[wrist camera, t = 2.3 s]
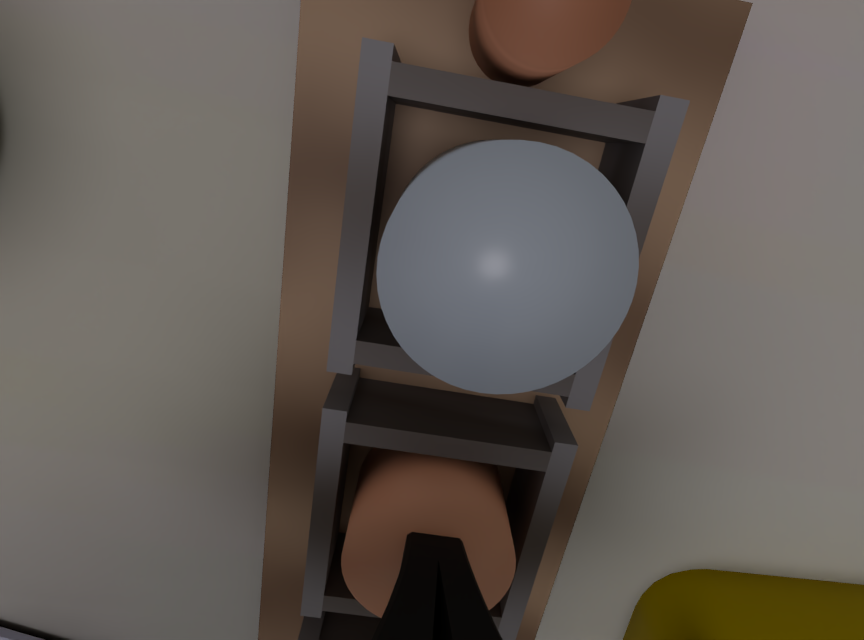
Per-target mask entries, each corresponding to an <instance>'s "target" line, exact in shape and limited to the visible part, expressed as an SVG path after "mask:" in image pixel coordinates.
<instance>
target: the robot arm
mask: <svg viewBox="0 0 864 640" xmlns="http://www.w3.org/2000/svg"><path fill="white" fill-rule="evenodd" d="M0 640H45V639H41V638H38V637H34V636H31V635H28V634H24V633H21V632H17V631H14V630H10V629H7V628H3V627H0ZM371 640H503V639H502V637H501V635H500V633H499V631H498V629H497V627H496V625H495V623H494V621H493V618H492V616H491V614H490V612H489V609H488V607H487V605H486V603H485V601H484V598H483V596H482V594H481V591H480V589H479V586H478V584H477V581H476V579H475V576H474V573H473V571H472V568H471V565H470V562H469V560H468V557H467V554H466V551H465V547H464V544H463V542H462V540H461V539H460V538H455V537H448V536H440V535H433V534H425V533H418V532H411V533H409V534H407V537H406V542H405V547H404V552H403V558H402V563H401V568H400V572H399V575H398V578H397V581H396V583H395V586H394V589H393V591H392V594H391V597H390V599H389V602H388V604H387V607H386V609H385V611H384V613H383V616H382V618H381V620H380V622H379V624H378V627H377V629H376V631H375V633H374V635H373V637H372V639H371Z"/></svg>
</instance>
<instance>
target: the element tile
mask: <svg viewBox="0 0 864 640" xmlns="http://www.w3.org/2000/svg"><path fill="white" fill-rule="evenodd" d="M623 640H864V585H859V584H849V583H839V582H829V581H819V580H809V579H799V578H789V577H780V576H770V575H760V574H750V573H740V572H730V571H720V570H710V569H697V570H687V571H682V572H677V573H673V574H670V575H668V576H666V577H664V578H662V579H660V580H658V581H656V582H654V583H653V584H652V585H651V586H650V587H649V588H648V589H647V590H646V592H645V593H644V594H643V595H642V596H641V598H640V599H639V601H638V603H637V605H636V606H635V609H634V611H633V614H632V617H631V619H630V622H629V625H628V627H627V630H626V633H625V635H624V638H623Z"/></svg>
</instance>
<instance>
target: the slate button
mask: <svg viewBox="0 0 864 640" xmlns="http://www.w3.org/2000/svg"><path fill="white" fill-rule="evenodd" d="M638 270H639V249H638V243H637V236H636V231H635V228H634V225H633V222H632V218H631V216H630V214H629V211H628V209H627V207H626V205H625V203H624V201H623V200H622V198H621V197H620V195H619V193H618V192H617V190H616V189H615V187H614V186H613V185H612V184H611V183H610V182H609V181H608V180H607V178H606V177H605V176H604V175H603V174H602V173H601V172H599V171H598V170H597V169H596V168H595V167H593V166H592V165H591V164H590V163H588V162H587V161H585V160H583V159H582V158H580V157H578V156H577V155H575V154H573V153H571V152H569V151H566V150H564V149H562V148H559V147H557V146H553V145H549V144H545V143H541V142H536V141H527V140H479V141H473V142H468V143H465V144H462V145H458V146H455V147H453V148H451V149H449V150H447V151H445V152H443V153H441V154H440V155H438V156H437V157H435V158H433V159H432V160H431V161H429V162H428V163H427V164H426V165H425V166H424V167H422V168H421V169H420V170H419V172H418V173H417V174H416V175H415V176H414V177H413V178H412V180H411V181H410V182H409V184H408V185H407V187H406V188H405V190H404V192H403V193H402V195H401V197H400V199H399V201H398V203H397V205H396V207H395V209H394V210H393V212H392V214H391V216H390V218H389V220H388V222H387V224H386V227H385V230H384V233H383V236H382V239H381V243H380V247H379V252H378V257H377V272H376V276H377V290H378V295H379V300H380V305H381V308H382V311H383V314H384V317H385V320H386V322H387V324H388V326H389V328H390V330H391V332H392V334H393V336H394V337H395V339H396V340H397V342H398V343H399V344H400V346H401V347H402V349H403V350H404V351H405V352H406V353H407V354H408V355H409V356H410V357H411V359H412V360H414V361H415V362H416V363H417V364H418V365H419V366H421V367H422V368H423V369H424V370H426V371H427V372H429V373H430V374H432V375H433V376H435V377H436V378H438V379H440V380H442V381H444V382H446V383H448V384H450V385H453V386H456V387H459V388H462V389H465V390H469V391H474V392H479V393H487V394H515V393H523V392H529V391H532V390H536V389H540V388H544V387H546V386H549V385H551V384H554V383H557V382H559V381H561V380H563V379H565V378H567V377H568V376H570V375H572V374H574V373H575V372H577V371H578V370H580V369H581V368H583V367H584V366H586V365H587V364H588V363H589V362H590V361H591V360H593V359H594V358H595V357H596V356H597V355H598V354H599V353H600V352H601V351H602V350H603V349H604V348H605V347H606V346H607V344H608V343H609V342H610V341H611V339H612V338H613V337H614V335H615V334H616V332H617V331H618V330H619V328H620V326H621V324H622V322H623V321H624V319H625V317H626V315H627V313H628V310H629V308H630V305H631V303H632V300H633V297H634V293H635V289H636V285H637V278H638Z"/></svg>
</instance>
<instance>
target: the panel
mask: <svg viewBox="0 0 864 640" xmlns="http://www.w3.org/2000/svg"><path fill="white" fill-rule="evenodd" d="M752 4H753V3H749V2H744V1H740V0H301V7H300V22H299V37H298V52H297V67H296V82H295V96H294V111H293V126H292V141H291V156H290V171H289V186H288V201H287V216H286V231H285V245H284V260H283V275H282V290H281V305H280V320H279V335H278V350H277V365H276V380H275V394H274V409H273V424H272V439H271V454H270V469H269V484H268V499H267V514H266V529H265V543H264V558H263V573H262V588H261V603H260V618H259V633H258V640H371V639H372V637H373V635H374V633H375V631H376V629H377V627H378V624H379V622H380V620H381V618H380V617H378V616H376V615H374V614H373V613H371V612H370V611H368V610H367V609H366V608H365V607H363V606H362V605H361V604H360V603H359V602H358V601H357V600H356V599H355V597H354V596H353V595H352V593H351V592H350V590H349V589H348V587H347V585H346V583H345V580H344V577H343V574H342V567H341V556H342V550H343V546H344V541H345V537H346V532H347V527H348V523H349V518H350V514H351V509H352V504H353V500H354V495H355V490H356V486H357V481H358V477H359V472H360V468H361V466H362V463H363V461H364V460H365V458H366V456H367V455H368V453H369V452H370V451H371V450H372V448H373V447H376V448H383V449H390V450H397V451H404V452H411V453H418V454H425V455H432V456H439V457H446V458H453V459H460V460H467V461H474V462H481V463H488V464H495V465H497V468H498V471H499V475H500V480H501V485H502V490H503V495H504V500H505V505H506V510H507V515H508V520H509V525H510V530H511V535H512V540H513V545H514V550H515V557H516V569H515V574H514V578H513V580H512V583H511V585H510V587H509V589H508V591H507V592H506V594H505V595H504V596H503V598H502V599H501V600H500V601H499V602H498V603H497V604H496V605H495V606H494V607H493V608H491V609H490V610H489V612H490V614H491V616H492V618H493V621H494V623H495V625H496V627H497V629H498V631H499V633H500V635H501V637H502V639H503V640H535V637H536V634H537V631H538V628H539V625H540V622H541V619H542V616H543V613H544V610H545V607H546V605H547V602H548V599H549V596H550V593H551V590H552V587H553V584H554V581H555V578H556V575H557V572H558V570H559V567H560V564H561V561H562V558H563V555H564V552H565V549H566V546H567V543H568V540H569V537H570V535H571V532H572V529H573V526H574V523H575V520H576V517H577V514H578V511H579V508H580V505H581V502H582V500H583V497H584V494H585V491H586V488H587V485H588V482H589V479H590V476H591V473H592V470H593V467H594V464H595V462H596V459H597V456H598V453H599V450H600V447H601V444H602V441H603V438H604V435H605V432H606V429H607V427H608V424H609V421H610V418H611V415H612V412H613V409H614V406H615V403H616V400H617V397H618V394H619V392H620V389H621V386H622V383H623V380H624V377H625V374H626V371H627V368H628V365H629V362H630V359H631V357H632V354H633V351H634V348H635V345H636V342H637V339H638V336H639V333H640V330H641V327H642V324H643V322H644V319H645V316H646V313H647V310H648V307H649V304H650V301H651V298H652V295H653V292H654V289H655V287H656V284H657V281H658V278H659V275H660V272H661V269H662V266H663V263H664V260H665V257H666V254H667V252H668V249H669V246H670V243H671V240H672V237H673V234H674V231H675V228H676V225H677V222H678V219H679V217H680V214H681V211H682V208H683V205H684V202H685V199H686V196H687V193H688V190H689V187H690V184H691V181H692V179H693V176H694V173H695V170H696V167H697V164H698V161H699V158H700V155H701V152H702V149H703V146H704V144H705V141H706V138H707V135H708V132H709V129H710V126H711V123H712V120H713V117H714V114H715V111H716V109H717V106H718V103H719V100H720V97H721V94H722V91H723V88H724V85H725V82H726V79H727V76H728V74H729V71H730V68H731V65H732V62H733V59H734V56H735V53H736V50H737V47H738V44H739V41H740V39H741V36H742V33H743V30H744V27H745V24H746V21H747V18H748V15H749V12H750V9H751V6H752ZM479 140H527V141H536V142H541V143H545V144H549V145H553V146H557V147H559V148H562V149H564V150H566V151H569V152H571V153H573V154H575V155H577V156H578V157H580V158H582V159H583V160H585V161H587V162H588V163H590V164H591V165H592V166H593V167H595V168H596V169H597V170H598V171H599V172H601V173H602V174H603V175H604V176H605V177H606V178H607V180H608V181H609V182H610V183H611V184H612V185H613V186H614V187H615V189H616V190H617V192H618V193H619V195H620V197H621V198H622V200H623V201H624V203H625V205H626V207H627V209H628V211H629V214H630V216H631V218H632V222H633V225H634V228H635V231H636V236H637V243H638V249H639V270H638V278H637V285H636V289H635V293H634V297H633V300H632V303H631V305H630V308H629V310H628V313H627V315H626V317H625V319H624V321H623V322H622V324H621V326H620V328H619V330H618V331H617V332H616V334H615V335H614V337H613V338H612V339H611V341H610V342H609V343H608V344H607V346H606V347H605V348H604V349H603V350H602V351H601V352H600V353H599V354H598V355H597V356H596V357H595V358H594V359H593V360H591V361H590V362H589V363H588V364H587V365H586V366H584V367H583V368H581V369H580V370H578V371H577V372H575V373H574V374H572V375H570V376H568V377H567V378H565V379H563V380H561V381H559V382H557V383H554V384H551V385H549V386H546V387H544V388H540V389H536V390H532V391H529V392H523V393H515V394H487V393H479V392H474V391H469V390H465V389H462V388H459V387H456V386H453V385H450V384H448V383H446V382H444V381H442V380H440V379H438V378H436V377H435V376H433V375H432V374H430V373H429V372H427V371H426V370H424V369H423V368H422V367H421V366H419V365H418V364H417V363H416V362H415V361H414V360H412V359H411V357H410V356H409V355H408V354H407V353H406V352H405V351H404V350H403V349H402V347H401V346H400V344H399V343H398V342H397V340H396V339H395V337H394V336H393V334H392V332H391V330H390V328H389V326H388V324H387V322H386V320H385V317H384V314H383V311H382V308H381V305H380V300H379V295H378V290H377V276H376V272H377V257H378V252H379V247H380V243H381V239H382V236H383V233H384V230H385V227H386V224H387V222H388V220H389V218H390V216H391V214H392V212H393V210H394V209H395V207H396V205H397V203H398V201H399V199H400V197H401V195H402V193H403V192H404V190H405V188H406V187H407V185H408V184H409V182H410V181H411V180H412V178H413V177H414V176H415V175H416V174H417V173H418V172H419V170H420V169H421V168H422V167H424V166H425V165H426V164H427V163H428V162H429V161H431V160H432V159H433V158H435V157H437V156H438V155H440V154H441V153H443V152H445V151H447V150H449V149H451V148H453V147H455V146H458V145H462V144H465V143H468V142H473V141H479Z"/></svg>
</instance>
